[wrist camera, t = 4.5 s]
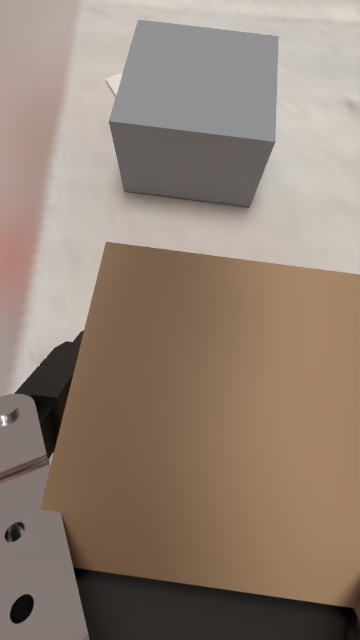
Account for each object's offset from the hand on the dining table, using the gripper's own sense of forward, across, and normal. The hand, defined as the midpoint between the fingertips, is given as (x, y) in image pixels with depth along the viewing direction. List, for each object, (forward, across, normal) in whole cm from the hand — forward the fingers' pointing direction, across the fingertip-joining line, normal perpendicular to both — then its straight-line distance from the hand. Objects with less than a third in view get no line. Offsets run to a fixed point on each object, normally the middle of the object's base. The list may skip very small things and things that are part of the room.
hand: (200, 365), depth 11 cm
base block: (+16, +2, -8) cm, 18 cm away
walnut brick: (+3, 0, +5) cm, 5 cm away
